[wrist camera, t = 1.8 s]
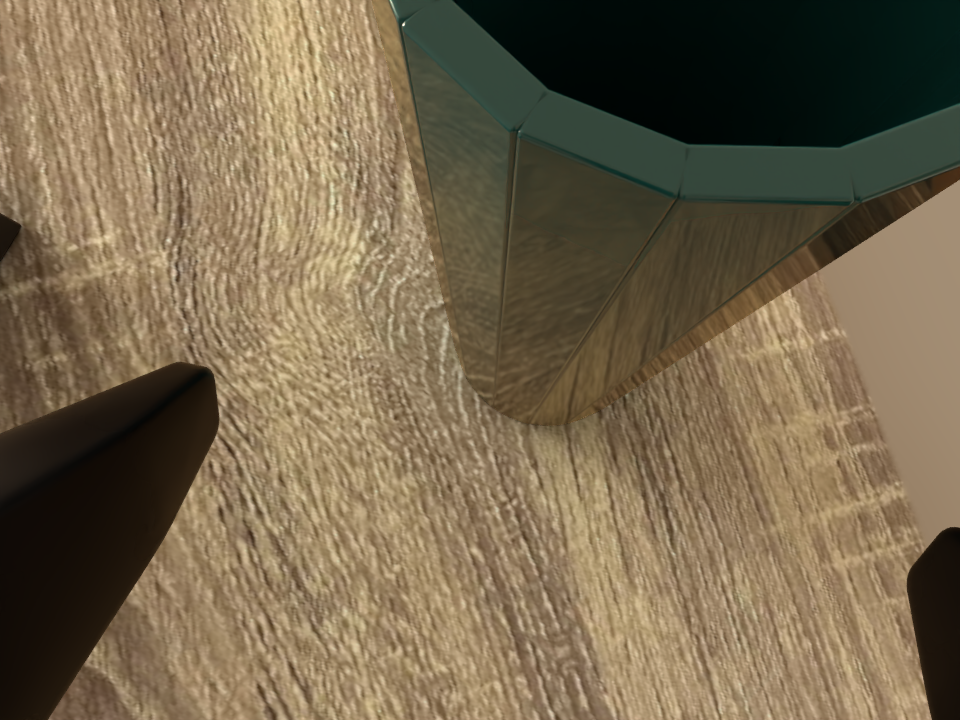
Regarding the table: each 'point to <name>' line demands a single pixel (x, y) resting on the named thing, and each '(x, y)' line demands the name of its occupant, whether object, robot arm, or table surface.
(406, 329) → the table surface
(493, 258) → the tumbler
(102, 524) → the robot arm
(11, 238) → the scale
